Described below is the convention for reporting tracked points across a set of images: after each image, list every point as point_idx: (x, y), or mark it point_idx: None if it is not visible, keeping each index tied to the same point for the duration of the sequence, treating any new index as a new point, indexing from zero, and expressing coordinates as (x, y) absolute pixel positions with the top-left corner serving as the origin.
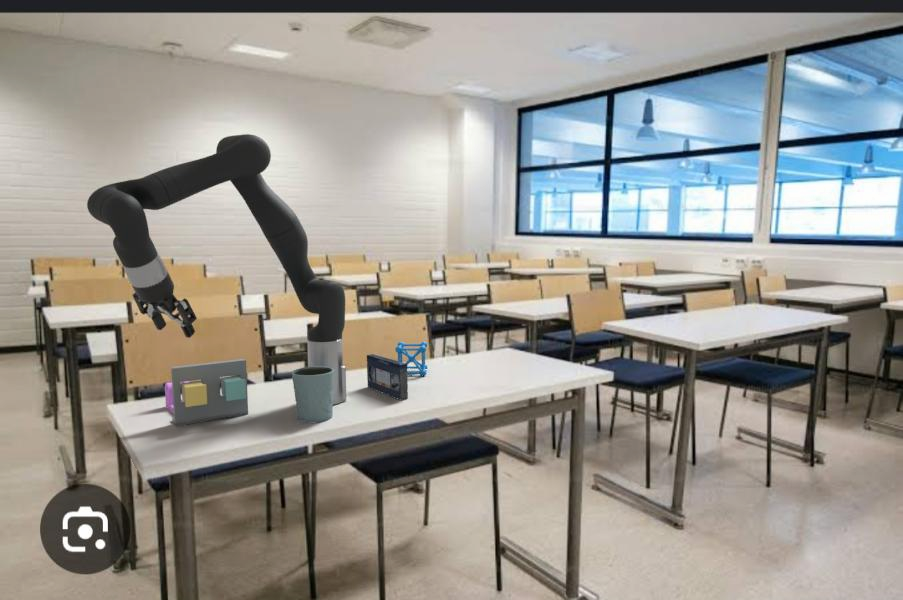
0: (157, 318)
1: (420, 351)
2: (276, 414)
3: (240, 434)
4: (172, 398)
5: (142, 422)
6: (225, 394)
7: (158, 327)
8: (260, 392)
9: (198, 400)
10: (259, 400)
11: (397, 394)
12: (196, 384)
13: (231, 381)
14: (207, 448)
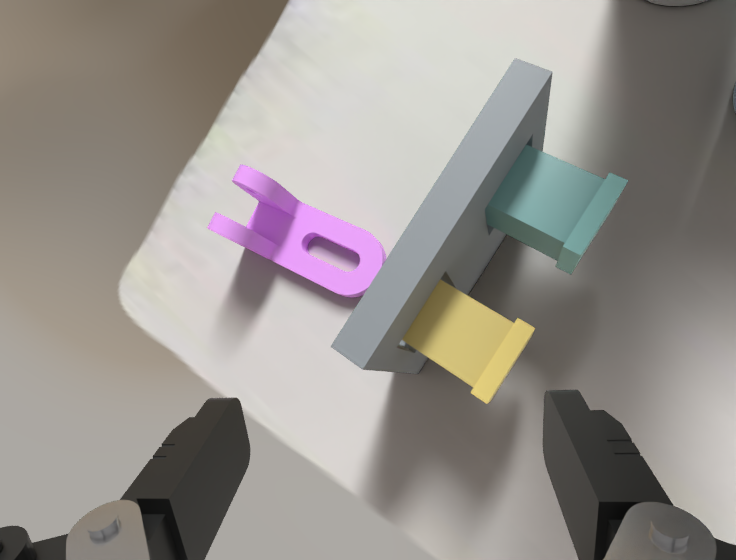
0: (198, 528)
1: None
2: (633, 141)
3: (701, 355)
4: (265, 246)
5: (298, 384)
6: (559, 262)
7: (239, 483)
8: (389, 12)
9: (515, 361)
10: (452, 67)
11: None
12: (467, 323)
13: (592, 232)
14: (721, 518)
